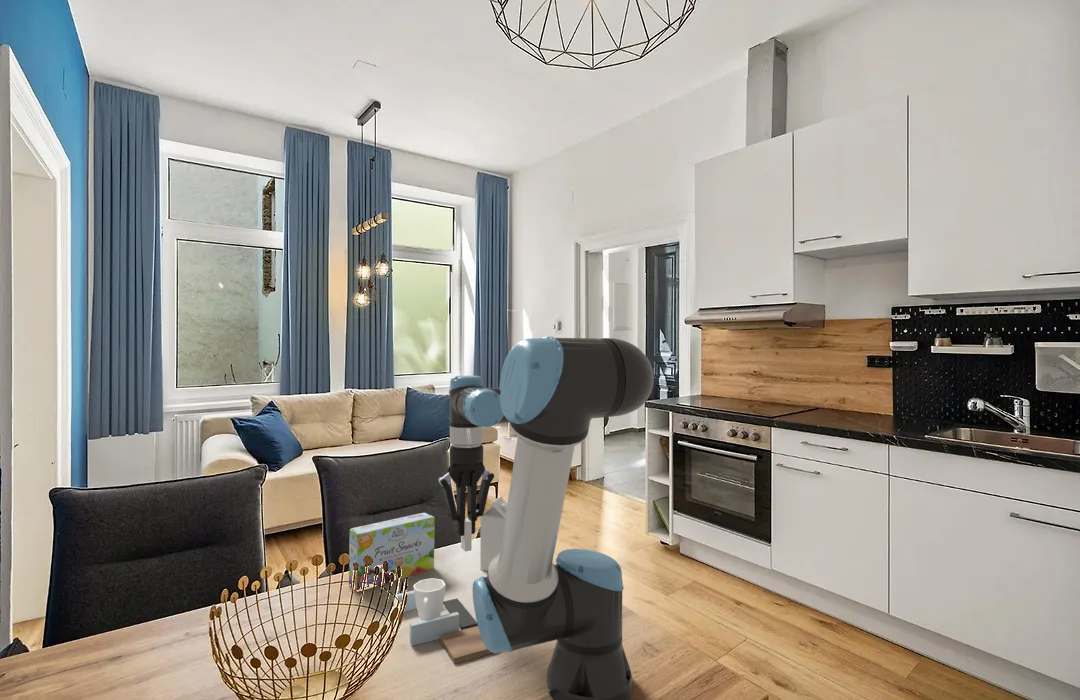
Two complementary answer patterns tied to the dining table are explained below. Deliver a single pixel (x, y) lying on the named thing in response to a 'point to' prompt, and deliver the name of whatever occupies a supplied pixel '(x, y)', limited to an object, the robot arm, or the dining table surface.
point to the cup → (429, 597)
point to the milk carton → (492, 532)
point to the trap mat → (460, 613)
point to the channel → (429, 623)
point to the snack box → (393, 547)
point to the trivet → (464, 644)
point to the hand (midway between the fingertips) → (466, 548)
